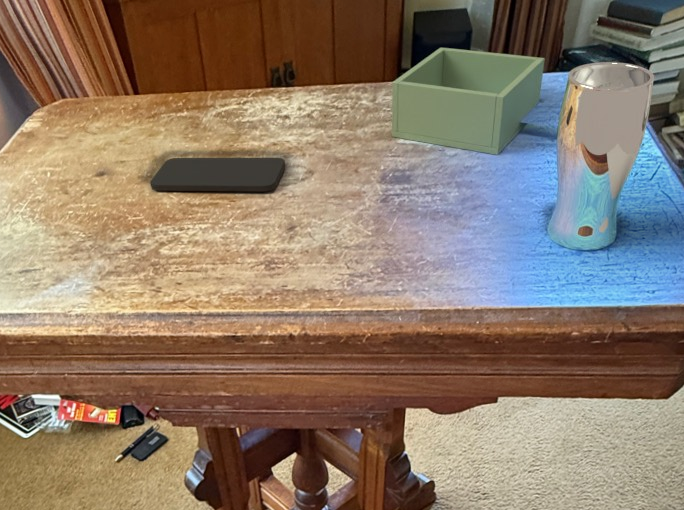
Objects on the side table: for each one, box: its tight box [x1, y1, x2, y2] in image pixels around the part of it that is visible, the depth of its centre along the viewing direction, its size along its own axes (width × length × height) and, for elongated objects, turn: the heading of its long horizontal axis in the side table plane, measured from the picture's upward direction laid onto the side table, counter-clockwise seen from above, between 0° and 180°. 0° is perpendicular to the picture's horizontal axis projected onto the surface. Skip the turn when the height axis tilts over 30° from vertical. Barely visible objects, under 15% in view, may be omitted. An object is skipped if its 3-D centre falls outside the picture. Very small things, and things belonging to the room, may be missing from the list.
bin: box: [391, 47, 546, 156], centre depth 88 cm, size 14×14×7 cm
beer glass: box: [546, 61, 655, 251], centre depth 63 cm, size 7×7×15 cm
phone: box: [149, 157, 286, 192], centre depth 84 cm, size 7×1×15 cm
